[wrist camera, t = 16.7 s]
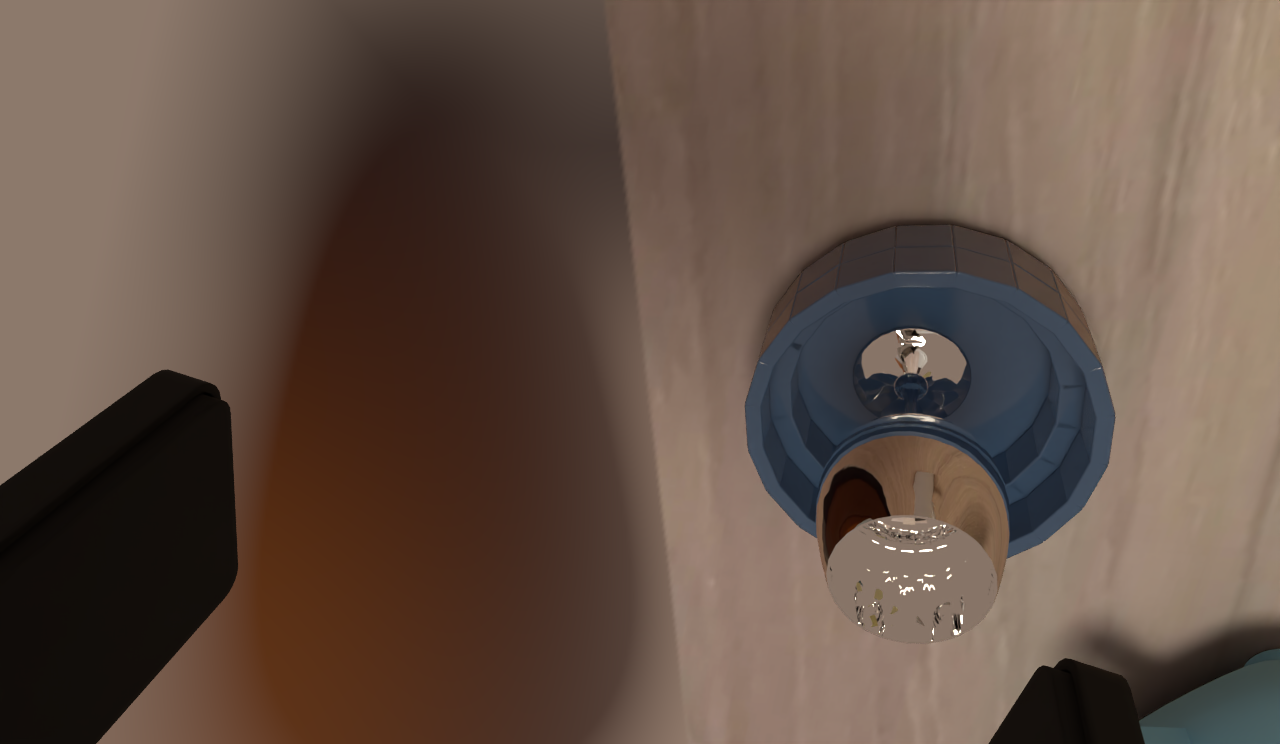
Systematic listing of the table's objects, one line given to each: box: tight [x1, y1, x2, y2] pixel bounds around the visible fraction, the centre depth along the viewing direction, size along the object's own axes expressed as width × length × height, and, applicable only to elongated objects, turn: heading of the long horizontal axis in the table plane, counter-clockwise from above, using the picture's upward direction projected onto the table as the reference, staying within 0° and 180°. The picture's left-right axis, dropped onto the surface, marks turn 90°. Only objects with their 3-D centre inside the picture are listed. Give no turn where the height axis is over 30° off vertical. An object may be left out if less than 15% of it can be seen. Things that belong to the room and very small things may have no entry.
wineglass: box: [815, 326, 1010, 644], centre depth 31 cm, size 6×6×12 cm
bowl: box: [745, 225, 1115, 558], centre depth 35 cm, size 12×12×5 cm
